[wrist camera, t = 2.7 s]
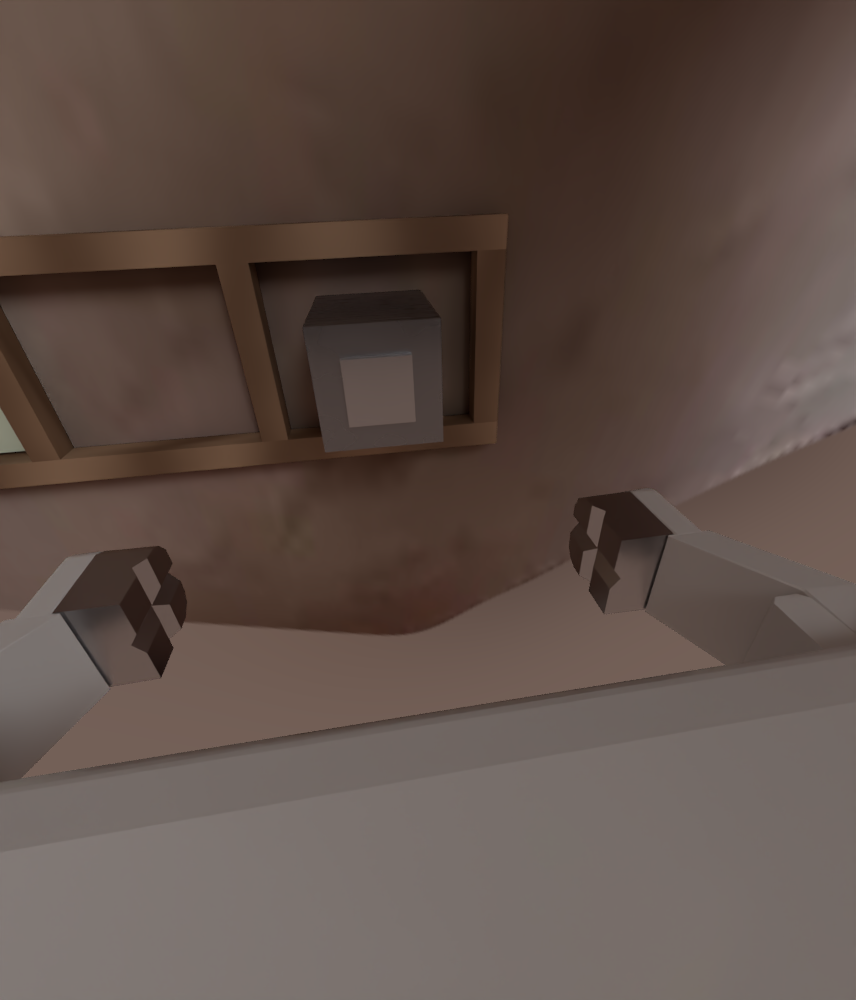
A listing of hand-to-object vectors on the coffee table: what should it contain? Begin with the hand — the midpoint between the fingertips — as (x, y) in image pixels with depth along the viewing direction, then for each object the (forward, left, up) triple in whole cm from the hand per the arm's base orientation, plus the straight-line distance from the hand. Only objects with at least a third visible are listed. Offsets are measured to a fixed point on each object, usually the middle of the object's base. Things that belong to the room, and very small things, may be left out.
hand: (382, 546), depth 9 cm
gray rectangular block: (0, 0, -14) cm, 14 cm away
